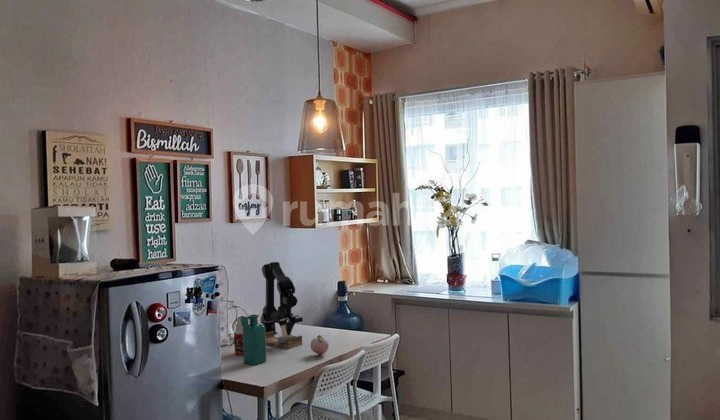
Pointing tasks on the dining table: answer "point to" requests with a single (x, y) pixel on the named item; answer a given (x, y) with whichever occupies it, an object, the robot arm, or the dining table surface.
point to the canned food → (238, 342)
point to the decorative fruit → (319, 345)
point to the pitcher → (253, 340)
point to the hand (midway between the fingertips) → (286, 334)
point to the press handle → (284, 334)
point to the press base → (289, 343)
